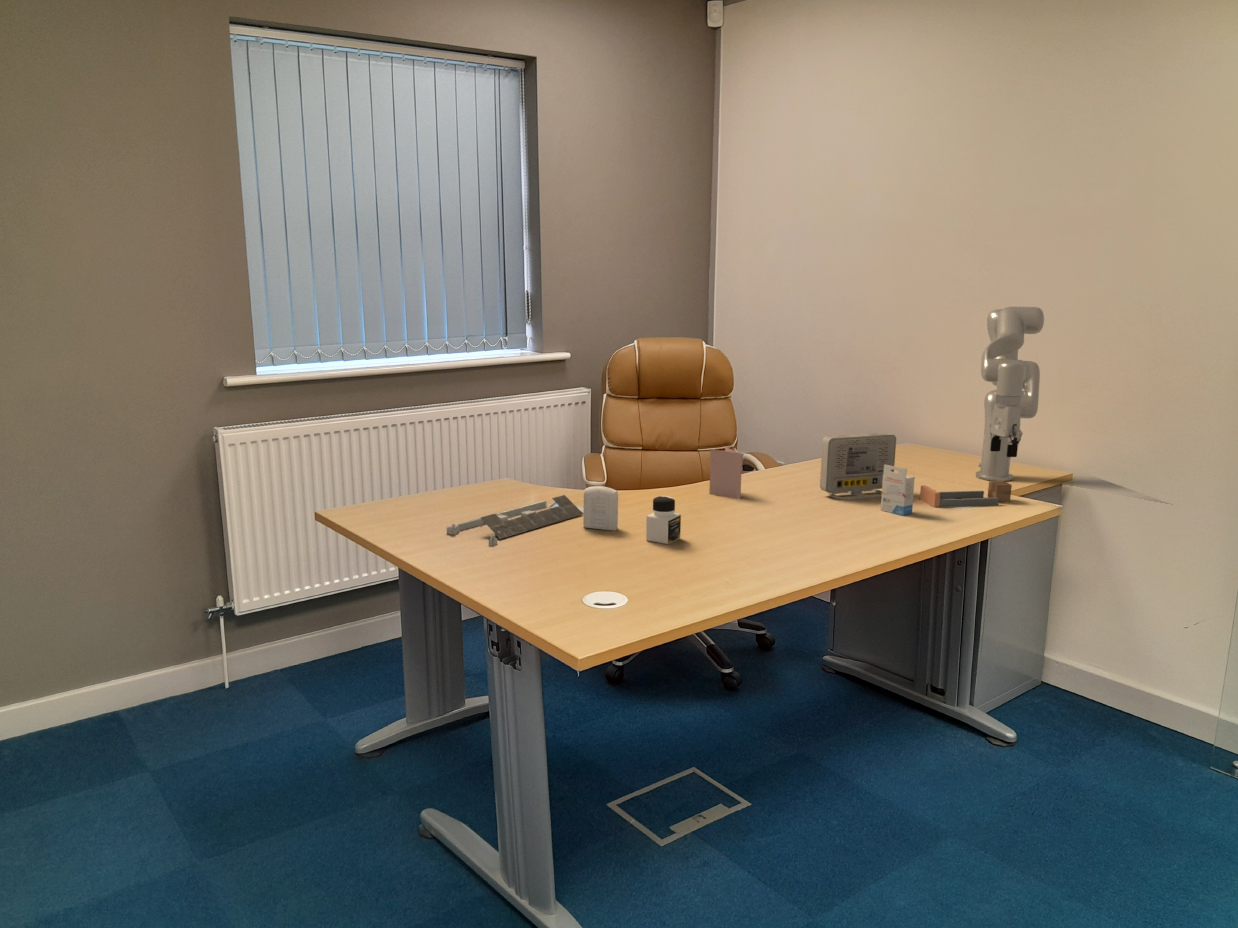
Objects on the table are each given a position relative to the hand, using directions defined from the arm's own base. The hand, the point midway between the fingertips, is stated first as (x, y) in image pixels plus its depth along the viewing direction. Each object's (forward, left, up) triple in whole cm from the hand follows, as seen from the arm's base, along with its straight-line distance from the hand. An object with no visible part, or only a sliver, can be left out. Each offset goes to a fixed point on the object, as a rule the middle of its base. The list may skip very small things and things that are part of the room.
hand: (1003, 454), depth 296 cm
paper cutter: (+7, -153, -16) cm, 154 cm away
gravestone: (+16, -132, -16) cm, 134 cm away
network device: (-13, -43, -16) cm, 48 cm away
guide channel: (0, -13, -16) cm, 20 cm away
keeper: (0, 0, -16) cm, 16 cm away
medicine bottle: (+29, -116, -16) cm, 120 cm away
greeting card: (-17, -87, -16) cm, 90 cm away
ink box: (+9, -39, -16) cm, 43 cm away
